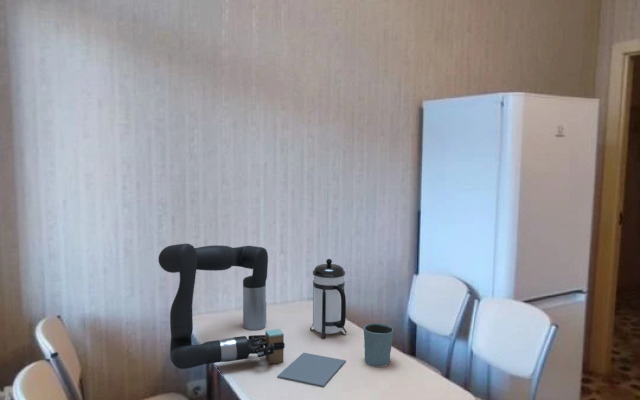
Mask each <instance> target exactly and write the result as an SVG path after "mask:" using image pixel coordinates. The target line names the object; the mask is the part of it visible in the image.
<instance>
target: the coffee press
mask: <svg viewBox="0 0 640 400" xmlns="http://www.w3.org/2000/svg"><path fill="white" fill-rule="evenodd" d="M332 262H333V260H332V259H331V258H327V259H326V260H325V263H322V264H317V266H315V267H314V269H313V270H312V275H313V280H312V287H313V288H312V289H313V290H312V291H313V292H312V296H313V297H312V325H311V327H310V329H309V330H310V331H311V332H313V331H316V332H318V333H320V334H321V335H320V339H322V340H326V336H327V334H328V335H330V334H331V335H332V334H336V333H340V334H342V336H345V335H347V330H346V329H345V324H346V318H347V317H346V316H347V315H346V314H347V313H346V310H347V305H346V304H347V303H346V301H347V298H346V294H345V285H346V284H345V283H346V282H345V276H346V271H345V270H344V268H343V267H342V266H341V265H339V264H336V263H335V264H334V263H332ZM312 327H313V328H312ZM342 330H343V331H342Z"/></svg>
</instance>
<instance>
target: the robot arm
mask: <svg viewBox="0 0 640 400" xmlns="http://www.w3.org/2000/svg"><path fill="white" fill-rule="evenodd" d="M158 255H159V256H158V264H159V266H160V268H161V269H162V270H163V271H165V272H167V273H170V274H171V273H173V274H175V273H179V285H178V288H177V291H176V294H175V297H174V299H173V300H172V304H171V308H170V312H169V313H170V314H169V320H170V321H169V324H170V326H169V327H170V346H169V347H170V349H169V351H170V352H169V354H170V355H169V356H170V357H169V358H170V360H171V363H172V364H173V366H175V367H176V368H177V369H180V370H185V369H192V368H196V367H199V366H203V365H211V364H215V363H217V364H218V363H226V362H227V363H229V362H234V361H242V360H246V359H249V358H250V355H251V354H252V355H255V354H256V355H257V358H264V357H265V356H267V355H270V354H274V350H279V349H285V346H286V345H285V342H279V343H274V344H273V343H270V344H269V343H267V342H265V339H266V338H265V334H259V335H258V334H257V335H248V336H246V335H243V336H235V337H234V336H233V337H227V338H226V337H225V338H222V339H217V340H211V341H205V342H203V343H199V344H193V345H192V334H193V330H194V327H193V326H194V323H193V321H194V320H193V300H194V299H193V298H194V291H195V284H196V274H197V270H198V271H213V272H214V271H215V272H216V271H217V272H218V271H227V270H229V269H230V268H232V267H238V268H239V267H241V268H243V269H247V270H248V269H249V270H252V274H251V275H248V276H246V277H244V278H243V280H242V311H243V312H242V327H243V328H244V329H246V330H249V331H252V330H253V331H255V330H256V331H257V330H262V329H264V328H266V324H267V298H266V297H267V296H266V295H267V294H266V292H267V289H266V287H267V286H266V285H267V278H268V264H269V256H268V251H267V249H266V248H265V247H262V246H255V245H243V246H238V247H237V246H236V247H232V246H229V245H206V246H205V245H204V246H198V247H194V245H192V244H190V243H178V244H171V245H168V246H166V247H164V248H163V249H162V250H161V251H160V253H159V254H158ZM267 346H268V347H267Z"/></svg>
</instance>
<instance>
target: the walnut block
mask: <svg viewBox="0 0 640 400" xmlns="http://www.w3.org/2000/svg"><path fill="white" fill-rule="evenodd" d="M264 335H265V338H266V339H265V342H267V343H269V344H270V343H273V344H274V343H279V342H284V340H285V339H284V337H285V335H284V332H283V331H282V330H281V329H280V328H274V329H268V330H265V333H264ZM284 343H285V342H284ZM267 347H268V346H267ZM284 349H285V348H284ZM284 349H279V350H274V354H270V355H267V356H264V357H265V360H266V362H267V363H268V365H271V364H279V363H284V356H285V355H284V351H285V350H284Z"/></svg>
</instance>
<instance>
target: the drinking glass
mask: <svg viewBox="0 0 640 400" xmlns="http://www.w3.org/2000/svg"><path fill="white" fill-rule="evenodd" d="M363 336H364V337H363V342H364V345H363V346H364V362H365V364H366V365H368V366H370V367H373V368H374V367H375V368H376V367H377V368H378V367H379V368H382V366H383V367H386V366H388V365H389V364H390V362H391V361H390V360H391V351H392V343H393V336H394V328H393V327H392V326H390V325H389V324H384V323H378V322H375V323H373V322H372V323H367V324H366V325H364V326H363ZM387 364H388V365H387ZM385 365H386V366H385Z"/></svg>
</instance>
